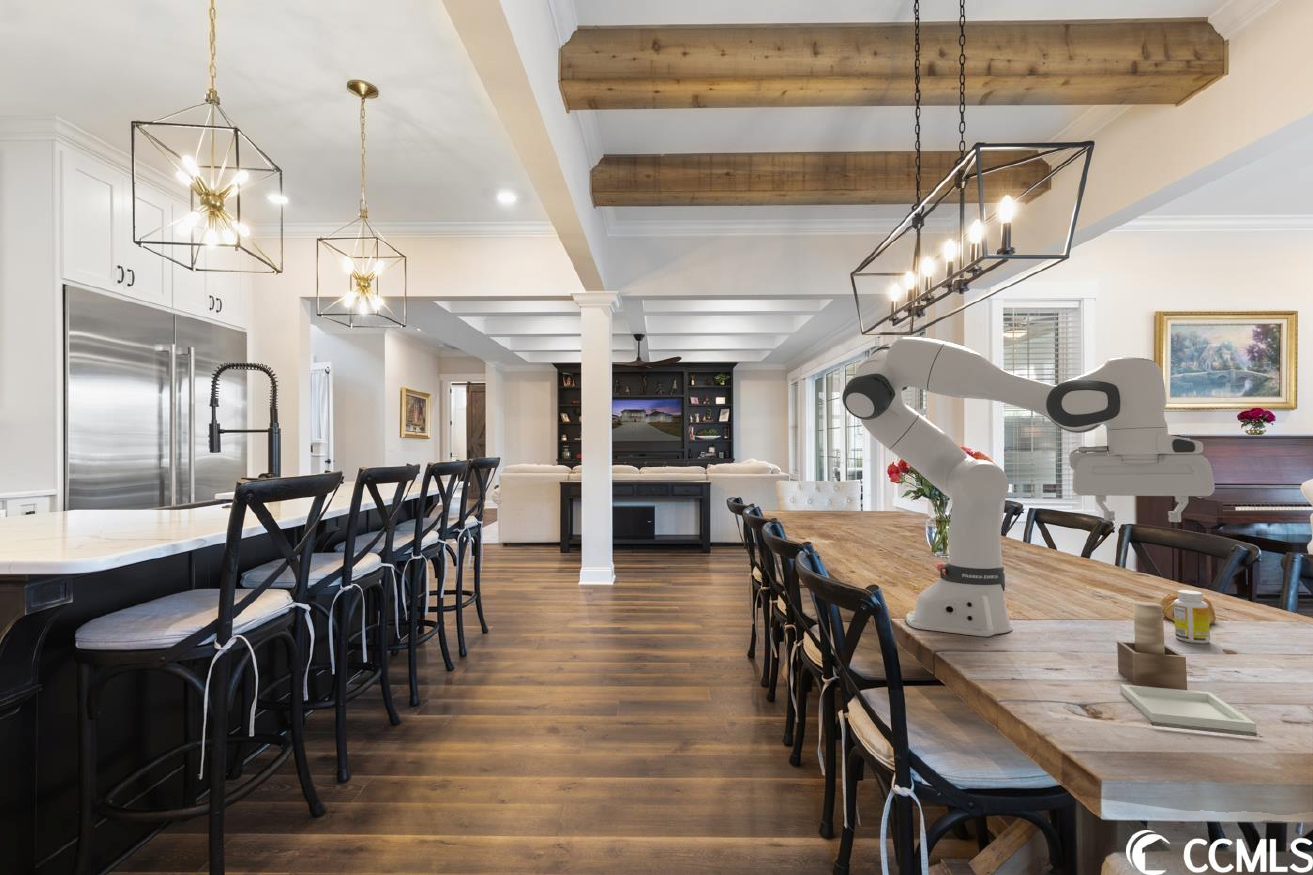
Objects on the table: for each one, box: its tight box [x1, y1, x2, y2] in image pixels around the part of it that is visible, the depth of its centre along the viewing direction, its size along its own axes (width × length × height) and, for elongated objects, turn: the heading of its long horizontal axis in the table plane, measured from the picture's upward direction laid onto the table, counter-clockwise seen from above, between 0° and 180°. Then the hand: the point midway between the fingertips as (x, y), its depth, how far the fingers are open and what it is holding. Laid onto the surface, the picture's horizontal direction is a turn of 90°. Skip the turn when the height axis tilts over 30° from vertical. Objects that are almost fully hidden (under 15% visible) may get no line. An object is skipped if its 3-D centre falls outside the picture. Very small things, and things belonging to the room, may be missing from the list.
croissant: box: [1158, 591, 1217, 625], centre depth 146 cm, size 21×10×8 cm, turn 141°
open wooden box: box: [1116, 640, 1188, 690], centre depth 105 cm, size 7×7×6 cm
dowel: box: [1132, 601, 1166, 655], centre depth 106 cm, size 4×4×13 cm
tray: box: [1119, 683, 1258, 737], centre depth 93 cm, size 12×12×2 cm
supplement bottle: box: [1174, 589, 1211, 644], centre depth 130 cm, size 6×6×10 cm
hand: (1141, 521), depth 111 cm, fingers open, 8 cm apart
